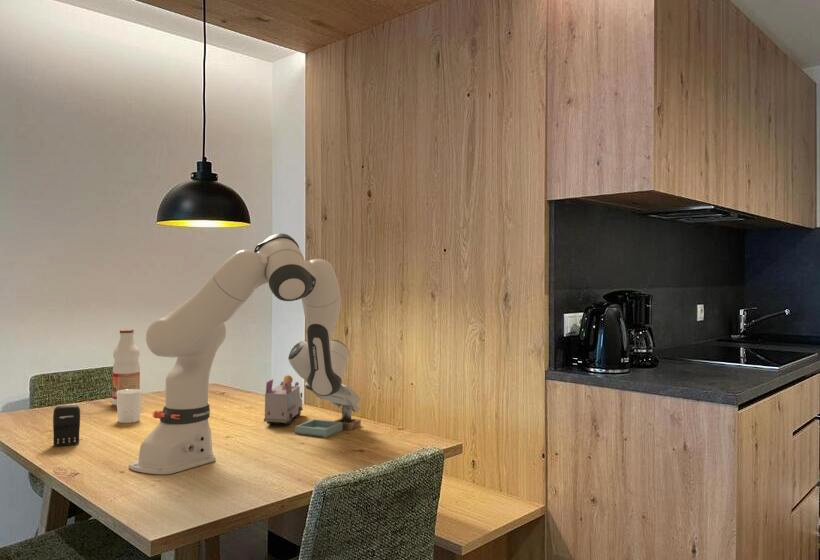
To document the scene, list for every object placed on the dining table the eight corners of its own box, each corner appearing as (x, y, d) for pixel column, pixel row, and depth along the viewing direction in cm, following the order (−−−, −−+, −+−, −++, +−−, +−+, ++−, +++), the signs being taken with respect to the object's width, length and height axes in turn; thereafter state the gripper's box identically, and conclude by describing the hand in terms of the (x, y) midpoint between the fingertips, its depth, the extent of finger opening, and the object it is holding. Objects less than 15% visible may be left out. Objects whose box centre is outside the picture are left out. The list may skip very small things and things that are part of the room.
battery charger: (52, 448, 182) (52, 407, 182) (52, 444, 185) (53, 405, 185) (80, 445, 185) (80, 405, 185) (79, 442, 189) (80, 403, 189)
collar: (351, 430, 209) (351, 424, 209) (332, 427, 211) (332, 421, 211) (360, 425, 215) (360, 419, 215) (342, 423, 218) (342, 417, 218)
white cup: (141, 422, 214) (141, 392, 214) (115, 424, 211) (115, 393, 211) (141, 417, 221) (142, 388, 221) (116, 419, 218) (117, 389, 218)
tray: (325, 437, 198) (326, 429, 198) (295, 434, 203) (295, 426, 203) (342, 430, 209) (342, 422, 209) (313, 426, 213) (313, 418, 213)
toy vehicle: (304, 415, 229) (305, 373, 229) (288, 428, 210) (289, 382, 210) (279, 414, 230) (280, 372, 230) (261, 427, 211) (262, 381, 210)
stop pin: (349, 428, 210) (349, 395, 210) (337, 427, 212) (338, 394, 212) (355, 426, 214) (355, 393, 214) (343, 424, 216) (344, 392, 216)
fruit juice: (129, 407, 237) (130, 331, 237) (106, 405, 239) (107, 330, 239) (144, 402, 246) (145, 329, 246) (122, 400, 248) (123, 328, 248)
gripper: (349, 378, 200) (373, 405, 207) (312, 370, 215) (335, 396, 222) (338, 394, 197) (362, 421, 204) (301, 385, 212) (325, 410, 219)
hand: (348, 408), depth 213 cm, fingers open, 8 cm apart
